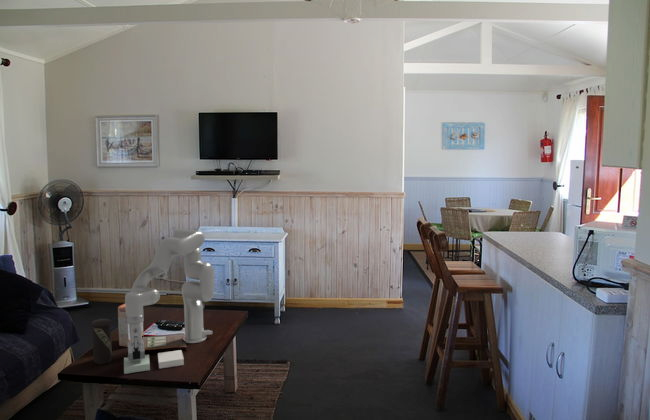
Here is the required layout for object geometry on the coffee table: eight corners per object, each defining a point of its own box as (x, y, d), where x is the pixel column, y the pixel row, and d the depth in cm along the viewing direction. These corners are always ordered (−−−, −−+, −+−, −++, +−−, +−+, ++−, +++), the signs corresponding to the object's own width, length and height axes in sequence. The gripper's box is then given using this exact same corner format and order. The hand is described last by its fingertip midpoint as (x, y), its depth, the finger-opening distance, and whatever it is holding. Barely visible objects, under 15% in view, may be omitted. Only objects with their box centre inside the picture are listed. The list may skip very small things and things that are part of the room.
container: (100, 366, 232) (98, 325, 230) (89, 361, 237) (86, 321, 234) (117, 359, 239) (114, 319, 237) (105, 355, 244) (103, 316, 242)
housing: (144, 353, 235) (143, 337, 234) (144, 358, 230) (144, 341, 229) (128, 356, 232) (127, 339, 231) (128, 360, 227) (127, 344, 226)
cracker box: (129, 347, 254) (127, 307, 251) (118, 346, 255) (116, 306, 252) (144, 337, 268) (142, 299, 265) (134, 336, 269) (132, 298, 266)
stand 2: (181, 355, 244) (181, 349, 244) (183, 364, 234) (183, 358, 234) (157, 359, 240) (157, 353, 240) (159, 368, 230) (158, 362, 230)
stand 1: (149, 360, 239) (148, 354, 238) (150, 370, 229) (149, 363, 228) (124, 363, 235) (124, 357, 234) (124, 373, 225) (123, 367, 224)
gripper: (144, 323, 222) (145, 362, 224) (143, 311, 238) (144, 348, 240) (126, 325, 219) (127, 365, 222) (126, 313, 235) (127, 350, 238)
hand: (136, 355), depth 231 cm, fingers closed on housing, 5 cm apart
